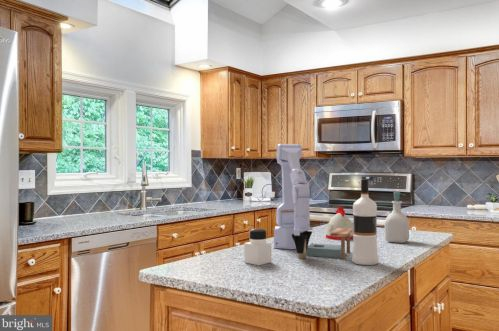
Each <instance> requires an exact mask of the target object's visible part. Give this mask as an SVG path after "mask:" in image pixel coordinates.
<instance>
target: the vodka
mask: <svg viewBox="0 0 499 331" xmlns="http://www.w3.org/2000/svg"><path fill="white" fill-rule="evenodd" d="M377 210H378V204H377V203H376V202H375V201H374V200H373V199H372V198H370V197H369V179H366V178H361V179H360V198H358V199H357V200H355V201H354V202H353V204H352V215H353V223H354V234H353V239H352V240H353V243H352V245H353V247H352V255H351V262H352V263H354V264H355V265H359V266H376V265H377V264H378V263H379V262H380V260H379V254H378V253H379V252H378V245H377V244H378V242H377V241H378V240H377V239H378V235H377V232H378V231H377V228H378V227H377V223H378V222H377V218H378V217H377V215H378V213H377V212H378V211H377Z"/></svg>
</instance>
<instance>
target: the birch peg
mask: <svg viewBox="0 0 499 331" xmlns="http://www.w3.org/2000/svg"><path fill="white" fill-rule="evenodd" d="M297 259H299V260H306V259H307V255H306V240H305V244H304V252H303V254H301V253H297Z"/></svg>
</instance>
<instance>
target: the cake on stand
mask: <svg viewBox="0 0 499 331" xmlns="http://www.w3.org/2000/svg"><path fill="white" fill-rule="evenodd" d="M345 212H346V210H344V207H342V206H338V208H336V210H335V213H336V214H335V215H333V216H332V217H331V218H330V220H329V222H328V223H326V230H325V238H326V239H328V240H335V241H341V236H330V233H331V232H333V231H334V230H335V229H337V228H347V229H352V232H351V233H350V241H352V240H353V234H354V222H352V221H351V220H350V218H349V216H347V215H346V213H345ZM345 241H347V237H345Z"/></svg>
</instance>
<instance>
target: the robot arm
mask: <svg viewBox="0 0 499 331" xmlns="http://www.w3.org/2000/svg"><path fill="white" fill-rule="evenodd" d="M302 154H303V148H302V145H301V144H300V143H278V144H277V147H276V161H277V162H276V163H277V164H279V165H280V168H281V190H282V192H281V193H282V194H281V195H282V203H281V204H279V206H277V208H276V214H275V222H276V225H277V226H275V227H274V231H273V249H282V250H283V249H286V250H296V253H297V254H298V253H301V254H303V252H304V244H305V240H306V251H307V248H308V246H309V242H310V238H311V236H312V233H313V231H312V230H314V228H313V227H311V226H310V224H311V223H310V222H311V220H310V219H311V215H310V214H311V212H310V210H311V209H310V199H311V198H312V195H313V194H312V193H313V190H312V185H311V183H309V181H307V177H306V174H305V171H304V170H303V169H302V168H301V164H300V159H301V157H302Z"/></svg>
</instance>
